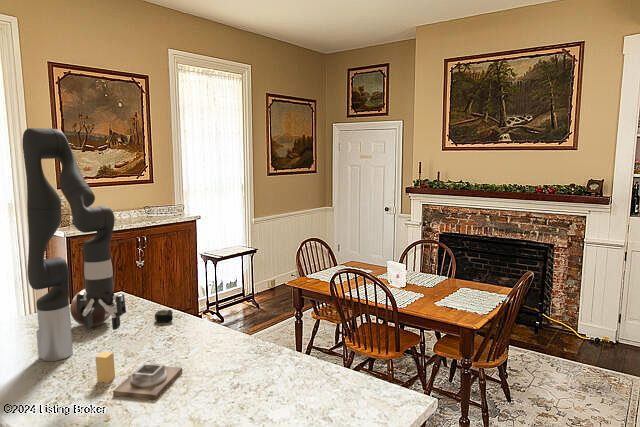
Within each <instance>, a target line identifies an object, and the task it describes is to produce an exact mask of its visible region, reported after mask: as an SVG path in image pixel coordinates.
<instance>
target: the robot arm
mask: <svg viewBox="0 0 640 427" xmlns="http://www.w3.org/2000/svg"><path fill="white" fill-rule="evenodd" d="M21 141H22V144H21V145H22V154H23V160H24V169H25V176H26V194H27V195H26V208H27V209H26V212H27V214H26V215H27V223H28V224H27V226H28V229H27V230H28V256H27V258H28V259H27V279H28V280H27V281H28V284H29V286H30V288H32V289H33V290H35V291H38V290H44V289H47V288H48V289H49V288H51V289H50V290H49V291H48V292H46V294H45V293H44V295H42V296H40V297H39V298H38V299H37V300H36V312H37V313H36V315H37V322H38V329H37V330H36V333H35V334H36V345H37V352H38V353H37V355H38V359H40V360H42V361H44V362H58V361H62V360H64V359H66V358H68V357H70V356H72V355H73V354H74V350H73V349H74V348H73V347H74V346H73V336H72V325H71V324H72V323H71V311H70V272H69V264H68V263H67V261H66V260H65V259H64V257H60V256H59V257H58V256H57V257H51V258H45V254H46V249H47V247H48V245H49V243H50V241H51V240H52V238H53V236H54V235H55V233H56V232H57V231H58V228H59V227H60V225H61V222H62V200H61V198H60V196H59V194H58V192H57V191H56V189H54V187H53V186H52V185H51V183H50V182H49V180H48V179H47V177H46V175H45V173H44V170H43V165H42V160H49V159H52V160H54V159H57V160H58V161H59V163H60V164H61V171H60V174H59V179H58V183H59V184H58V185H59V189H60V191H61V193H62V194H63V196H64V197H65V199H66V201H67V202H68V204H69V207H70V210H71V211H70V212H71V216H72V222H73V225H74V227H75V229H76V230H78V231H79V232H81V233H83V234H85V233H86V234H87V233H94V232H96V233H95V235H94V237H93V238H90V239H87V240H86V241H85V242H83V243H82V244H83V245H82V249H83V252H82V253H83V274H84V276H83V278H84V287H85V288H84V289H85V291H86V292H87V294H86V293H85V292H82V293H80V294H78V293H77V294H78V295H77V294H76V295H77V313H78V314H83V316H84V322H85V326H84V327H85V328H86V329H90V328H92V327H94V326H93V319H92V314H91V312H92V311H93V309H102V310H104V309H105V310H106V311H107V312H109V313H110V314H111V315H110V316H111V317H112V318H111V326H112V330H114V331H115V330H118V329H119V327H121V316H123V315H124V314H126V313H127V310H126V308H127V307H126V300H125V294H123V293H121V294H115V293H114V288H115V286H114V272H113V271H114V270H113V263H112V257H111V241H112V237H113V232H114V228H115V227H114V226H115V224H116V223H115V220H116V218H115V214H114V211H113V210H112V209H111V207H109V206H106V205H98V206H92V205H93V204H94V203H95V200H96V196H95V193H94V192H93V190H92V189H91V187H90V186H89V183H87V181H86V180H85V178H84V176H83V174H82V173H81V170H80V168H79V165H78V162H77V160H76V157H75V155H74V153H73V150H72V147H71V144H70V143H69V141H68V139H67V137H66V135H65V133H64V132H63V131H61V130H60V129H57V128H43V127H42V128H39V127H37V128H36V127H33V128H32V127H31V128H29V127H28V128H26V129H25V130H24V132H23V134H22V140H21ZM86 299H87V300H88V302H89V304H88V305H87V307H86ZM110 305H111V308H110V307H109V306H110Z"/></svg>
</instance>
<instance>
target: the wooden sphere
mask: <svg viewBox="0 0 640 427" xmlns="http://www.w3.org/2000/svg"><path fill="white" fill-rule="evenodd" d="M82 292H85V293H86V294H87V292H86V291H85V288H84V289H81V291H79V292H78V293H76V294H75V296H74V297H73V299H72V300H71V303H70V305H69V310H70V316H71V317H72V318H73V321H75V322H76V323H77V324H79V325H81V326H82V327H86V326H85V322H84V316H83V314H78V313H77V295H78V294H80V293H82ZM88 304H89V302H88V300H87V299H86V307H87V305H88ZM109 307H110V308H111V305H110V306H109ZM91 314H92V319H93V326H92V327H97V326H101V325H102V324H103V323H105V322H106V321H107V320H108V319H109V318H110V316H111V314H110V313H109V312H107V311H106V310H105V309H104V310H102V309H93V311H92V312H91Z"/></svg>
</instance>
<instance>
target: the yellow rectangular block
mask: <svg viewBox="0 0 640 427" xmlns="http://www.w3.org/2000/svg"><path fill="white" fill-rule="evenodd" d="M114 355H115V354H114V352H110V351H102V352H100V353H99V354H97V355H96V356H95V368H96V369H95V370H96V378H97V379H96V380H97V383H101V382H104V383H105V384H109V383H110V382H112V379H113V378H114V379H115V378H116V373H115V372H116V370H115V368H116V367H115V356H114ZM114 379H113V380H114ZM104 383H103V384H104Z"/></svg>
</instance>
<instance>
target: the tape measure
mask: <svg viewBox="0 0 640 427" xmlns="http://www.w3.org/2000/svg"><path fill="white" fill-rule="evenodd" d="M173 319H174V318H173V310H172V309H160V310H158V311H156V312H155V313H154V320H155V322H157V323H166V322H172V321H173Z"/></svg>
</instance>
